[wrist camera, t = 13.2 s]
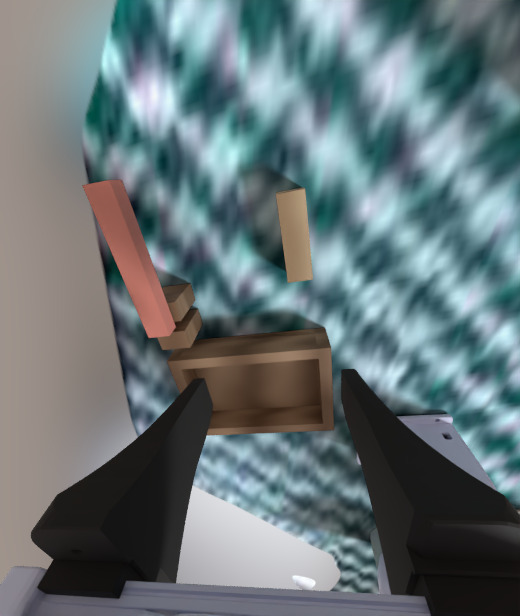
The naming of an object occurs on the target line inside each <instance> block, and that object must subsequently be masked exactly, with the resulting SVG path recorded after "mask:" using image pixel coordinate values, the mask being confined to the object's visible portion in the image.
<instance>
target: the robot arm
mask: <svg viewBox="0 0 520 616" xmlns="http://www.w3.org/2000/svg"><path fill="white" fill-rule="evenodd" d="M341 399H342V404H343V409H344V413H345V418H346V421H347V424H348V427H349V430H350V433H351V436H352V439H353V442H354V445H355V448H356V451H357V458H356V460H357V463H358V464H360V465H361V466H362V469H363V472H364V476H365V480H366V484H367V488H368V492H369V496H370V501H371V505H372V509H373V513H374V518H375V522H376V526H377V531H378V535H379V540H380V544H381V549H382V553H381V555H380V558H379V565H378V583H379V589H380V594H368V593H349V592H330V591H311V590H292V589H273V588H254V587H235V586H215V585H197V584H178V583H176V578H177V571H178V564H179V557H180V550H181V544H182V538H183V532H184V525H185V520H186V515H187V509H188V504H189V499H190V494H191V489H192V485H193V480H194V475H195V472H196V468H197V464H198V461H199V458H200V455H201V452H202V448H203V445H204V442H205V439H206V435H207V432H208V429H209V425H210V421H211V416H212V410H213V402H212V399H211V396H210V393H209V390H208V387H207V384H206V381H205V378H197V379H193V380H192V381H191V383H190V384H189V385H188V386H187V387H186V388H185V389H184V391H183V392H182V393H181V394H180V395H179V396H178V397H177V399H176V400H175V401H174V402H173V403H172V404H171V405H170V406H169V407H168V409H167V410H166V411H165V412H164V413H163V414H162V415H161V416H160V417H159V418H158V419H157V420H156V421H155V422H154V423H153V424H152V425H151V426H150V427H149V428H148V429H147V430H146V431H145V432H144V433H142V434H141V435H140V436H139V437H138V438H137V439H136V440H135V441H134V442H132V443H131V444H130V445H129V446H127V447H126V448H125V449H124V450H122V451H121V452H120V453H118V454H117V455H116V456H115V457H114V458H112V459H111V460H109V461H108V462H107V463H105V464H104V465H103V466H101V467H100V468H98V469H97V470H96V471H94V472H92V473H91V474H90V475H88V476H87V477H85V478H84V479H82V480H80V481H79V482H77V483H75V484H74V485H73V486H71V487H69V488H68V489H66V490H65V491H63V492H61V493H59V494H58V495H57V496H56V497H55V499H54V500H53V501H52V503H51V505H50V506H49V507H48V509H47V510H46V512H45V513H44V514H43V516H42V517H41V519H40V520H39V522H38V523H37V524H36V526H35V527H34V528H33V530H32V532H31V539H32V541H33V542H34V543H35V544H36V545H37V546H38V547H39V548H40V549H41V550H43V551H44V552H45V553H46V554H48V555H49V556H50V557H51V558H52V559H54V560H53V561H52V563H51V565H50V566H49V568H48V570H47V569H44V568H40V567H26V566H14V567H13V568H12V569H11V570H10V572H9V573H8V574H7V576H6V577H5V579H4V580H3V582H2V583H1V584H0V616H520V514H519V513H518V512H517V510H516V509H515V508H514V507H513V505H512V504H511V503H510V502H509V501H508V500H507V498H506V497H505V496H504V495H503V494H501V493H499V492H498V491H497V490H496V488H495V486H494V485H493V483H492V481H491V480H490V478H489V477H488V475H487V474H486V472H485V471H484V469H483V468H482V467H481V465H480V464H479V462H478V461H477V459H476V458H475V456H474V455H473V454H472V452H471V451H470V449H469V448H468V446H467V445H466V444H465V442H464V441H463V439H462V438H461V436H460V435H459V434H458V432H457V431H456V429H455V428H454V426H453V425H452V421H453V418H452V417H451V415H449V414H439V415H418V416H396V415H395V414H394V413H393V412H391V411H390V410H389V408H388V407H387V406H386V405H385V404H384V403H383V402H382V401H381V400H380V399H379V398H378V397H377V396H376V394H375V393H374V392H373V391H372V390H371V389H370V388H369V386H368V385H367V384H366V383H365V381H364V380H363V379H362V378H361V376H360V375H359V374H358V372H357V371H356V370H355V369H343V370H341Z"/></svg>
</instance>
